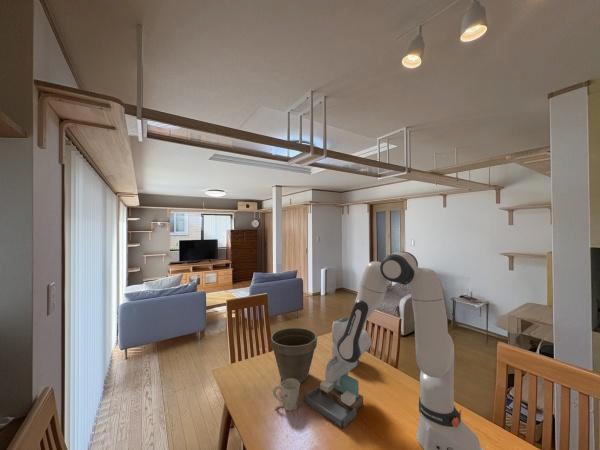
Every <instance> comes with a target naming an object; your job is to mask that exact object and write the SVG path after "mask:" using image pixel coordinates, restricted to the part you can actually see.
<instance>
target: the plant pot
mask: <svg viewBox="0 0 600 450" xmlns="http://www.w3.org/2000/svg"><path fill="white" fill-rule="evenodd" d="M317 344H318V335H317V334H316V332H314V331H313V330H311V329H308V328H303V327H287V328H281V329H278V330H277V331H275V332H273V333H272V334H271V336H270V346H271V349H272V350H273V354H274V357H275V362H276V364H277V369H278V373H279V376H280V378H281V380H282V382H283V381H284V380H286V379H290V378H293V379H296V380H298V381H299V382H300V384H301V383H304V382H305V381H306V380H307V379H308V376H309V373H310V368H311V366H312V365H311V364H312V361H313V358H314V357H313V356H314V353H315V350H316V348H317V346H318V345H317Z"/></svg>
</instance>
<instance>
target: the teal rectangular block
mask: <svg viewBox="0 0 600 450" xmlns="http://www.w3.org/2000/svg"><path fill="white" fill-rule="evenodd" d="M339 380H340V381H342V383H341V384H342V385H340V386H338V385H337V381H334V382H333V383H334V388H335V389H337V390H339V391H340V392H342V393H345V392H346V391H349V392H350V393H352V394H354V395H355V397H356V398H357V397H359V395H360V392H359V390H360V389H359V380H358V379H356V378H354V377H352V376H350V375H349V374H348V375H346V374H344V375H343V376H341V377H340V379H339Z"/></svg>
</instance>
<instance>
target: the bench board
mask: <svg viewBox="0 0 600 450" xmlns="http://www.w3.org/2000/svg"><path fill="white" fill-rule="evenodd" d="M320 390H321V391H320V393H322V394H324V395H325V396H327V397H329V398H330V399H332V400H334V401H335V402H337V403H338V404H340V405H342V406H343V407H345V408H347V409H348V410H350V411H352V410H353V409H354V408H356V409H357V411H358V410H359V409H360V408H361V407H362V406H363V405H364V396H363V395H361V394H359V397H357V398H356V401H355V402H354V403H353V404H352V405H351V406H348V405H347V404H345V403H343V402H342V401H341V395H342V394H343V393H342V392H340V391H339V390H337V389H335V388H334V389H332V390H331V391H330V392H328V393H327V392H325V391H323V390H322V389H320Z"/></svg>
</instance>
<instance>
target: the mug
mask: <svg viewBox="0 0 600 450" xmlns="http://www.w3.org/2000/svg"><path fill="white" fill-rule="evenodd" d="M300 387H301V383H300V382H299V381H298V380H296V379H293V378H290V379H286V380H284V381H283V380H282V381H281V384H280V385H276V386H275V387H273V390H272V394H273V397H274V398H275V399H276V400H277V401H278V402H279V401H280V402H283V407H284V409H285V410H286V411H288V412H293V411H296V410H297V409H298V406H299V397H300ZM279 389H281V392H282V393H281V394H282V398H280V397H279V396H278V395H277V390H279Z"/></svg>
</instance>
